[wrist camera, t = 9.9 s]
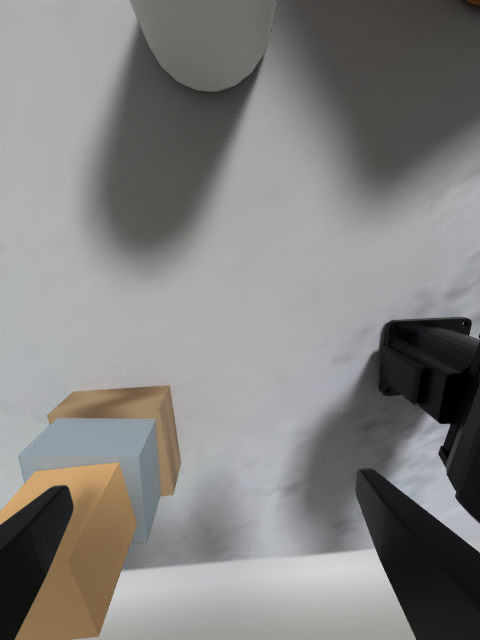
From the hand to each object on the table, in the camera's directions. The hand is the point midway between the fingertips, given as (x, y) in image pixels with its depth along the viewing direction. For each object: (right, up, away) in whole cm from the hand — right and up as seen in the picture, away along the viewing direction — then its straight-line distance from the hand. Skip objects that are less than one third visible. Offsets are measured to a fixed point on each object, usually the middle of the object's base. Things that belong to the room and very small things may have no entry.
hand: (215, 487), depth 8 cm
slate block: (-9, -5, +11) cm, 15 cm away
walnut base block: (-9, -4, +15) cm, 18 cm away
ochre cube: (-9, -6, +8) cm, 13 cm away
